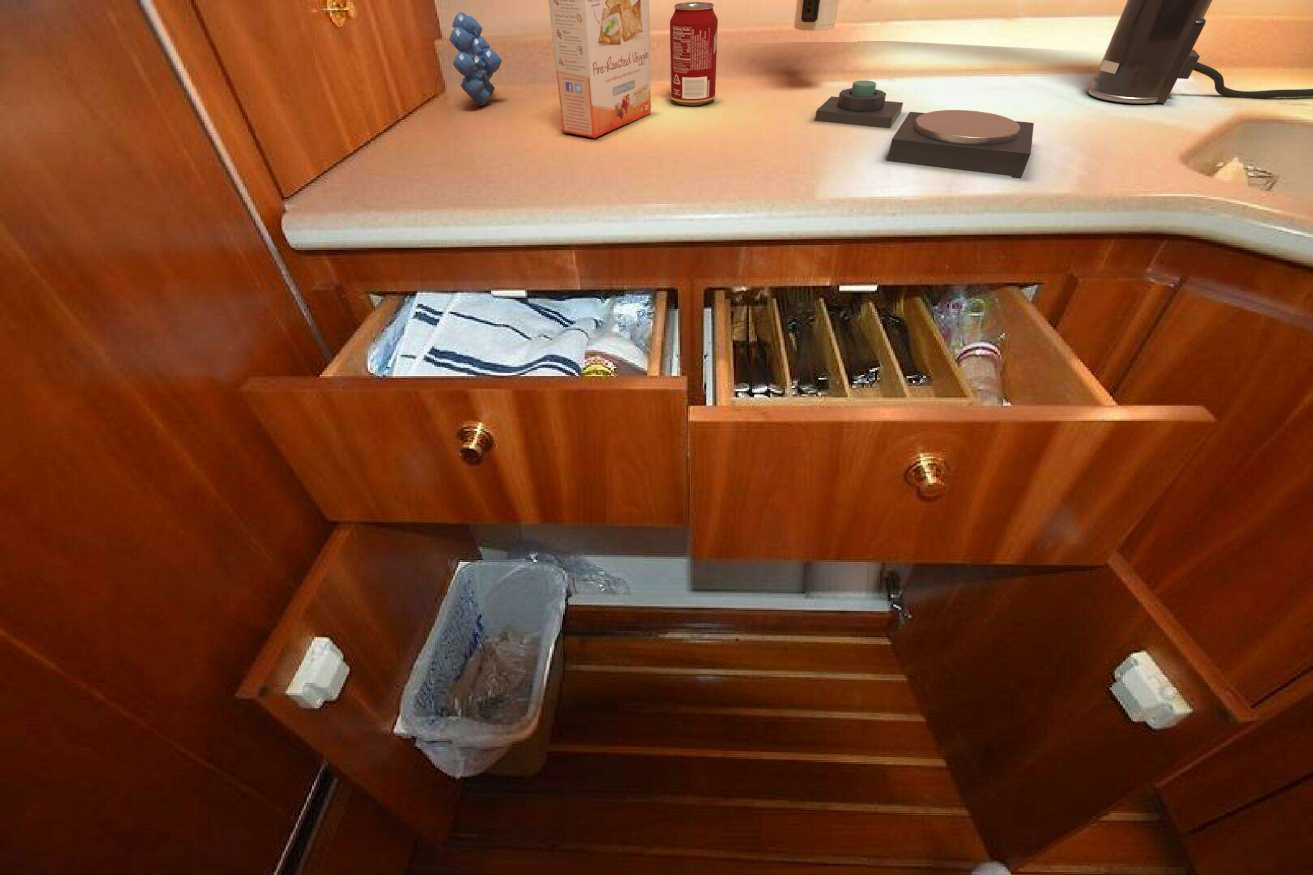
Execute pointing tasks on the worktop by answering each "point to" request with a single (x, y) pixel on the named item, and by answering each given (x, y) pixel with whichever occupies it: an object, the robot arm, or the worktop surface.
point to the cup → (825, 16)
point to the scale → (963, 142)
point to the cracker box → (601, 63)
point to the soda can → (693, 53)
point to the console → (860, 110)
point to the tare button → (863, 88)
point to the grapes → (474, 58)
